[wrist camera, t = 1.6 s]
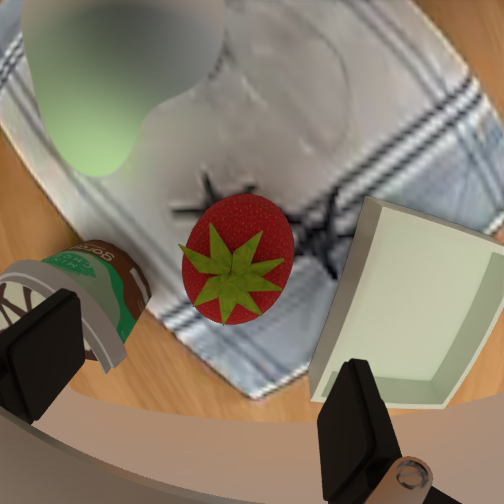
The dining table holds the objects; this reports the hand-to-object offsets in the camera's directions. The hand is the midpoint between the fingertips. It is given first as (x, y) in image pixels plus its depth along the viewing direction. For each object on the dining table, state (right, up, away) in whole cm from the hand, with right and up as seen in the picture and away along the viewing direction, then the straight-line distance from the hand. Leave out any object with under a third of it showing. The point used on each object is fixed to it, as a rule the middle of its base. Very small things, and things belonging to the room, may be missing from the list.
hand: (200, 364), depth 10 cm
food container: (-11, +3, +14) cm, 19 cm away
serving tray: (+14, -1, +13) cm, 20 cm away
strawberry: (+1, +5, +13) cm, 14 cm away
